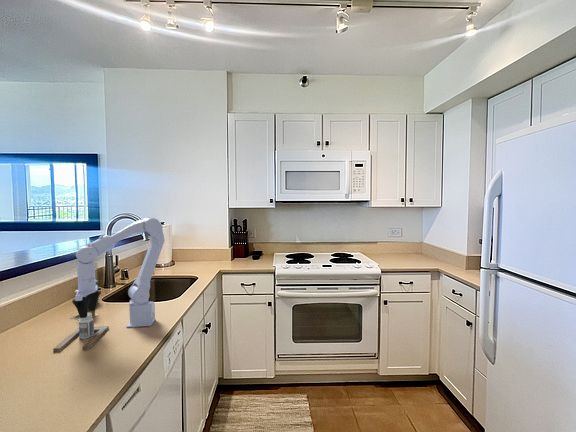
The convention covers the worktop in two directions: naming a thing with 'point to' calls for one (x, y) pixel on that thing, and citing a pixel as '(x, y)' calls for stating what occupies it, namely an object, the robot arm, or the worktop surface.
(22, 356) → the worktop surface
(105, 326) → the panel
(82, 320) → the pill bottle
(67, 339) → the guide channel
